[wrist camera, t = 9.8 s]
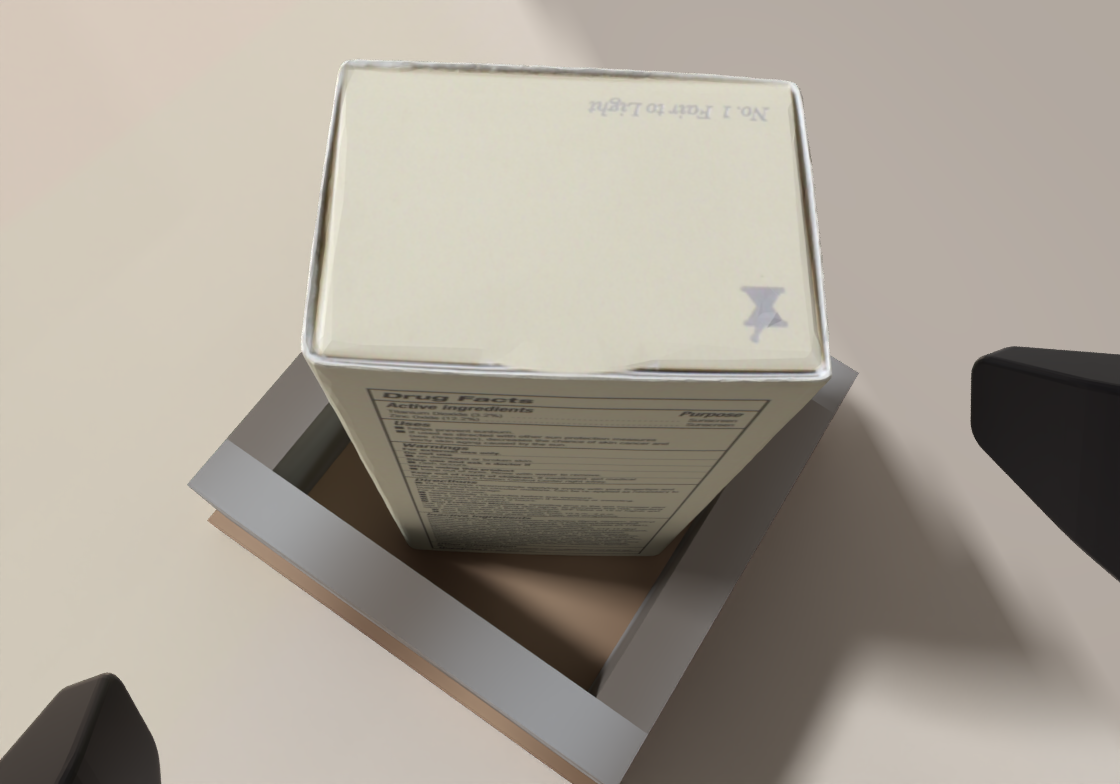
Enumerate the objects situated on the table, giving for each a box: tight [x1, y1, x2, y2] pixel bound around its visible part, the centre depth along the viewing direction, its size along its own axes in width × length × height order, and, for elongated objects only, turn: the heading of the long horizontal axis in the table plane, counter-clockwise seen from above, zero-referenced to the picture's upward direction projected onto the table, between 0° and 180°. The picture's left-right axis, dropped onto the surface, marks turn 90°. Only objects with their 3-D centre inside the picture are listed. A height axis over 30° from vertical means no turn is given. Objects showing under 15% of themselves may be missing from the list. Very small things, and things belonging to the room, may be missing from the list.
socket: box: [187, 352, 859, 784], centre depth 21 cm, size 11×11×4 cm
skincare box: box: [301, 59, 832, 556], centre depth 17 cm, size 6×4×12 cm
